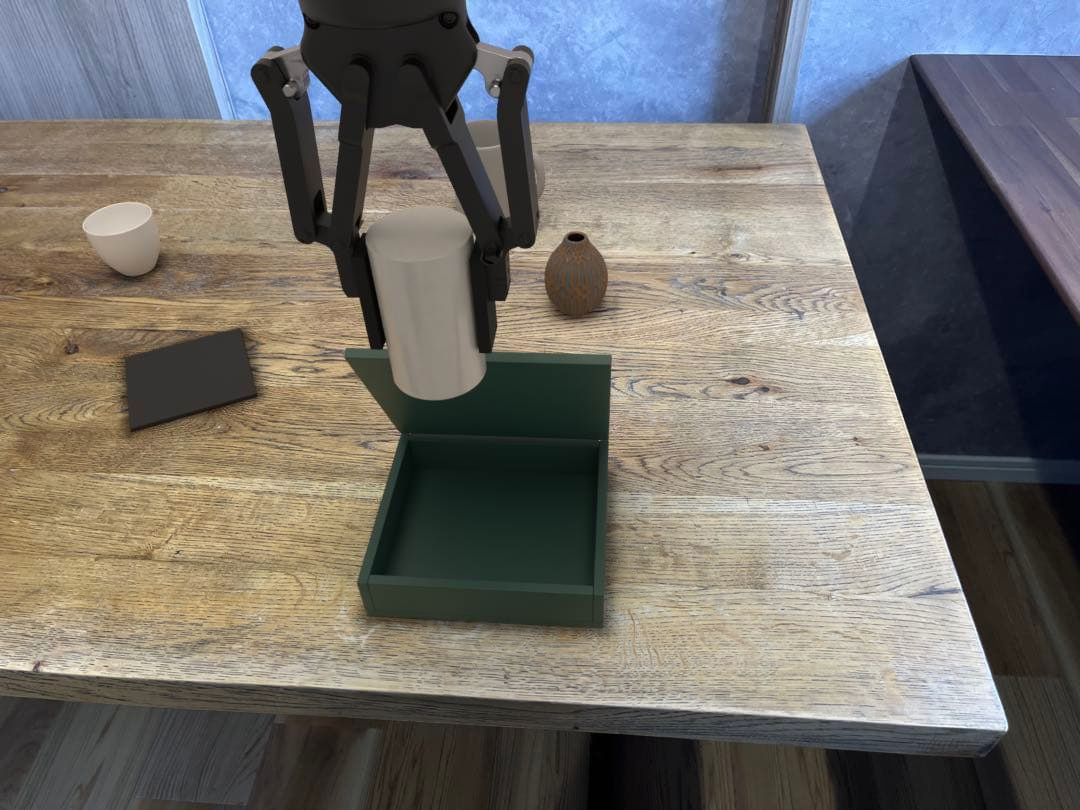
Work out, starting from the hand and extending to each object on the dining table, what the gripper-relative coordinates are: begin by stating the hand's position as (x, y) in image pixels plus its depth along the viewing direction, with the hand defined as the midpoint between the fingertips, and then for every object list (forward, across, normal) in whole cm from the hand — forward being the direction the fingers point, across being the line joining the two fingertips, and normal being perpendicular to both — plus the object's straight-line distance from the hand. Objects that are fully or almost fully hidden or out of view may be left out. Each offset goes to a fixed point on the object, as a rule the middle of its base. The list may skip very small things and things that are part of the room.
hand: (434, 337), depth 50 cm
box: (+23, -2, -2) cm, 23 cm away
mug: (+23, +4, -55) cm, 60 cm away
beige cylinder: (+3, 0, 0) cm, 3 cm away
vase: (+23, -6, -36) cm, 43 cm away
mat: (+23, +33, -21) cm, 45 cm away
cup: (+23, +49, -42) cm, 68 cm away
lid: (+11, -2, -6) cm, 13 cm away
